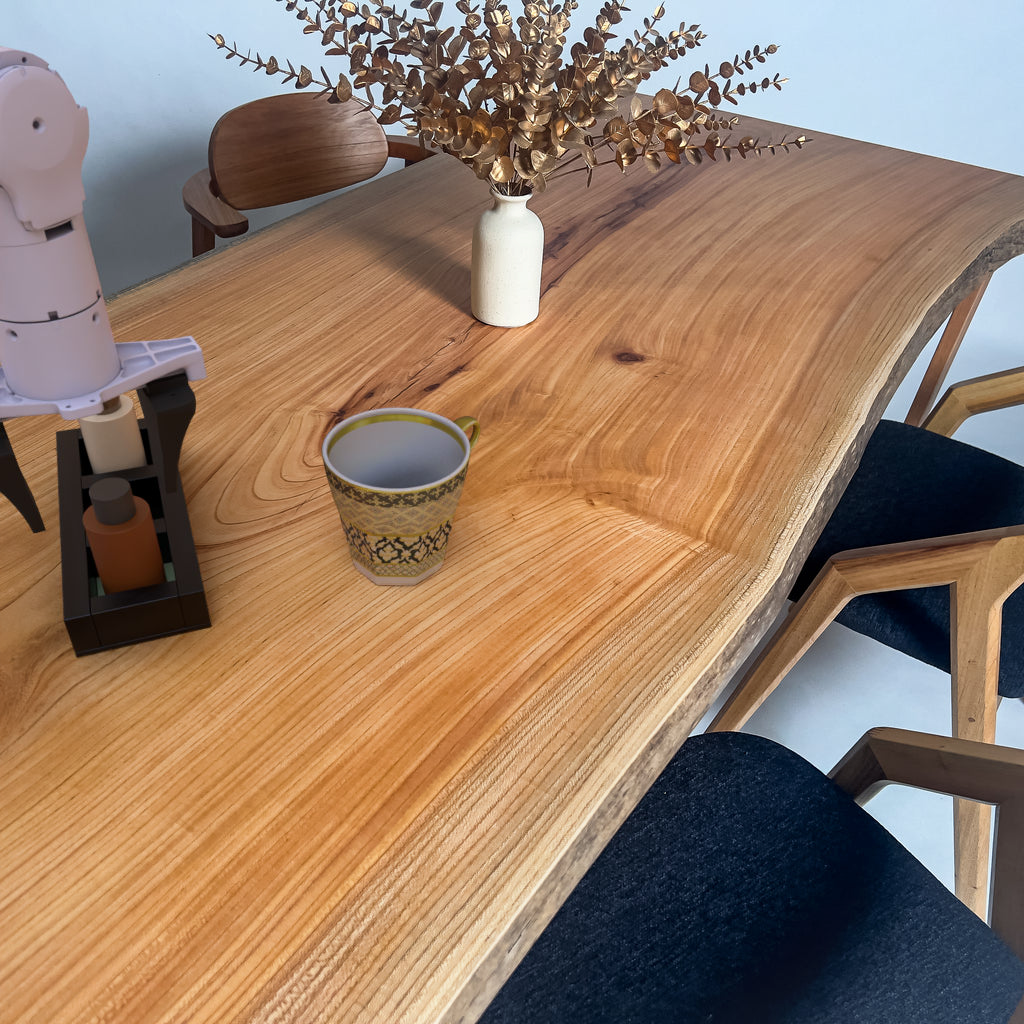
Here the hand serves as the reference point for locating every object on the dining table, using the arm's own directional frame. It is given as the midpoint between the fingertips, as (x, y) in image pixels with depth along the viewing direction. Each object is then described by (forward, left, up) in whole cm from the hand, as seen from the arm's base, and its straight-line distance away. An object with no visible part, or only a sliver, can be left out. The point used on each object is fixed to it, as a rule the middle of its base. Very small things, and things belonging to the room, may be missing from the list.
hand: (104, 503), depth 55 cm
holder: (-1, +8, -10) cm, 13 cm away
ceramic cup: (+20, +3, -10) cm, 22 cm away
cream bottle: (-2, +15, -9) cm, 18 cm away
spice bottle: (0, +1, -9) cm, 9 cm away
